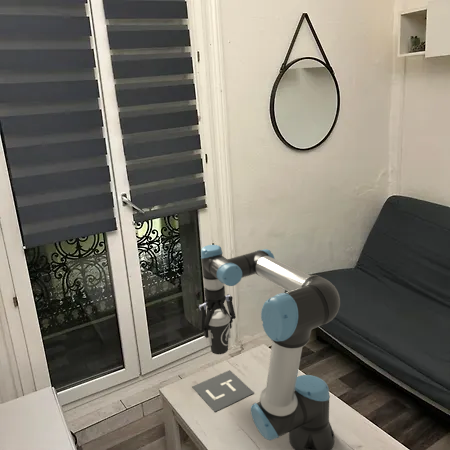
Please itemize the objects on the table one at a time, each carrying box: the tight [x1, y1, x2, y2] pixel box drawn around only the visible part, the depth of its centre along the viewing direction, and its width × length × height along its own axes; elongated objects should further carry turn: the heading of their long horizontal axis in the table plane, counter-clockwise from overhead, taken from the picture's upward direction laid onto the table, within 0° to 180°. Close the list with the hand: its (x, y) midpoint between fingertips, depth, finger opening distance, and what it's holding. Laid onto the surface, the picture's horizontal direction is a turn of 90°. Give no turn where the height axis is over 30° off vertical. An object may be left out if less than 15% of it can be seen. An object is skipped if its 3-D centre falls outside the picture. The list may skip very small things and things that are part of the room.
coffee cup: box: [209, 309, 230, 355], centre depth 180 cm, size 10×10×15 cm
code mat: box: [192, 369, 255, 413], centre depth 189 cm, size 18×18×1 cm
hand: (218, 340), depth 181 cm, fingers closed on coffee cup, 8 cm apart
